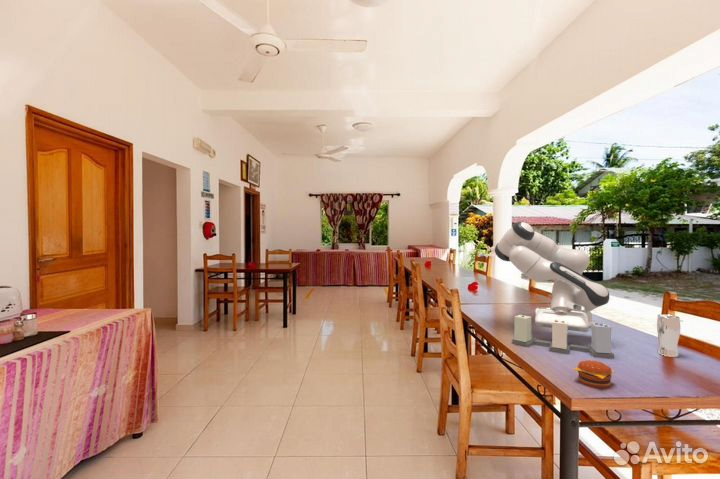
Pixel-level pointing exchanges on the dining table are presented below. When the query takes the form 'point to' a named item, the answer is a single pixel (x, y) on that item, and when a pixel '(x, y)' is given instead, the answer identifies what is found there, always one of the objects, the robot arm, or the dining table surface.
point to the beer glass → (668, 334)
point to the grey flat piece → (560, 350)
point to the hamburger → (594, 374)
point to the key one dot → (522, 328)
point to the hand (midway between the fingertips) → (560, 337)
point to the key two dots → (559, 334)
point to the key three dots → (601, 338)
